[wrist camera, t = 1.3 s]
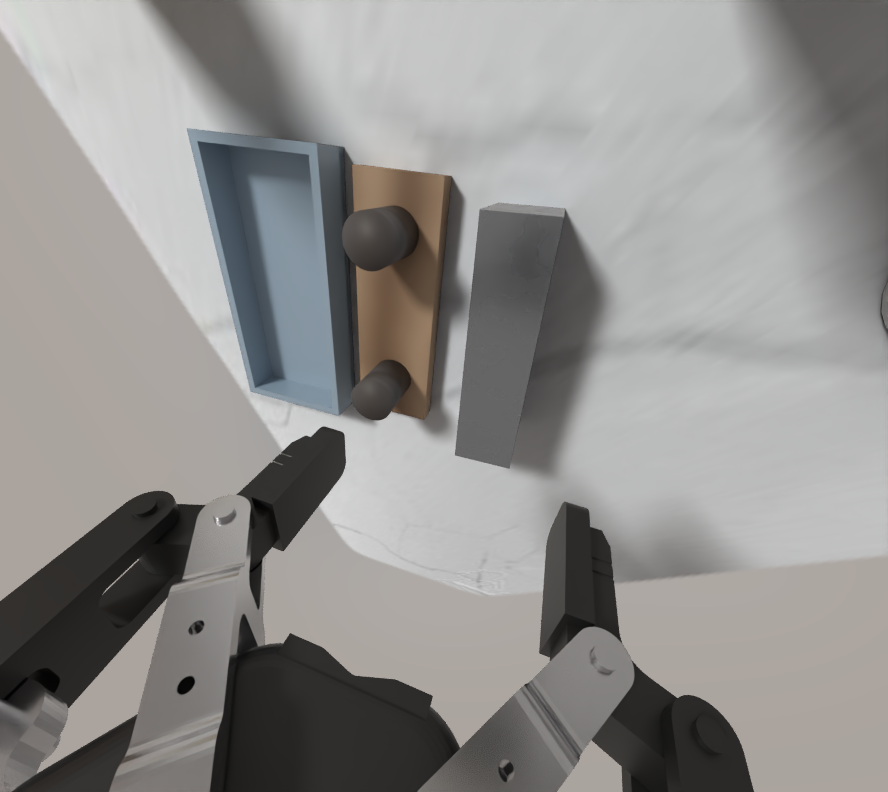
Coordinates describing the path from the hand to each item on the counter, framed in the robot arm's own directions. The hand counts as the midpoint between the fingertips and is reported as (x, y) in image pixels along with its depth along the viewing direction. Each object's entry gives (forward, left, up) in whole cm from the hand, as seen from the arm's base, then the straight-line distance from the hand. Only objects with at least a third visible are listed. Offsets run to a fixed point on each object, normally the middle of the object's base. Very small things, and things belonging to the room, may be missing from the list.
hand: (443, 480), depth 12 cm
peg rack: (+8, 0, -16) cm, 18 cm away
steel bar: (0, 0, -16) cm, 16 cm away
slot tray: (+17, 0, -16) cm, 24 cm away
